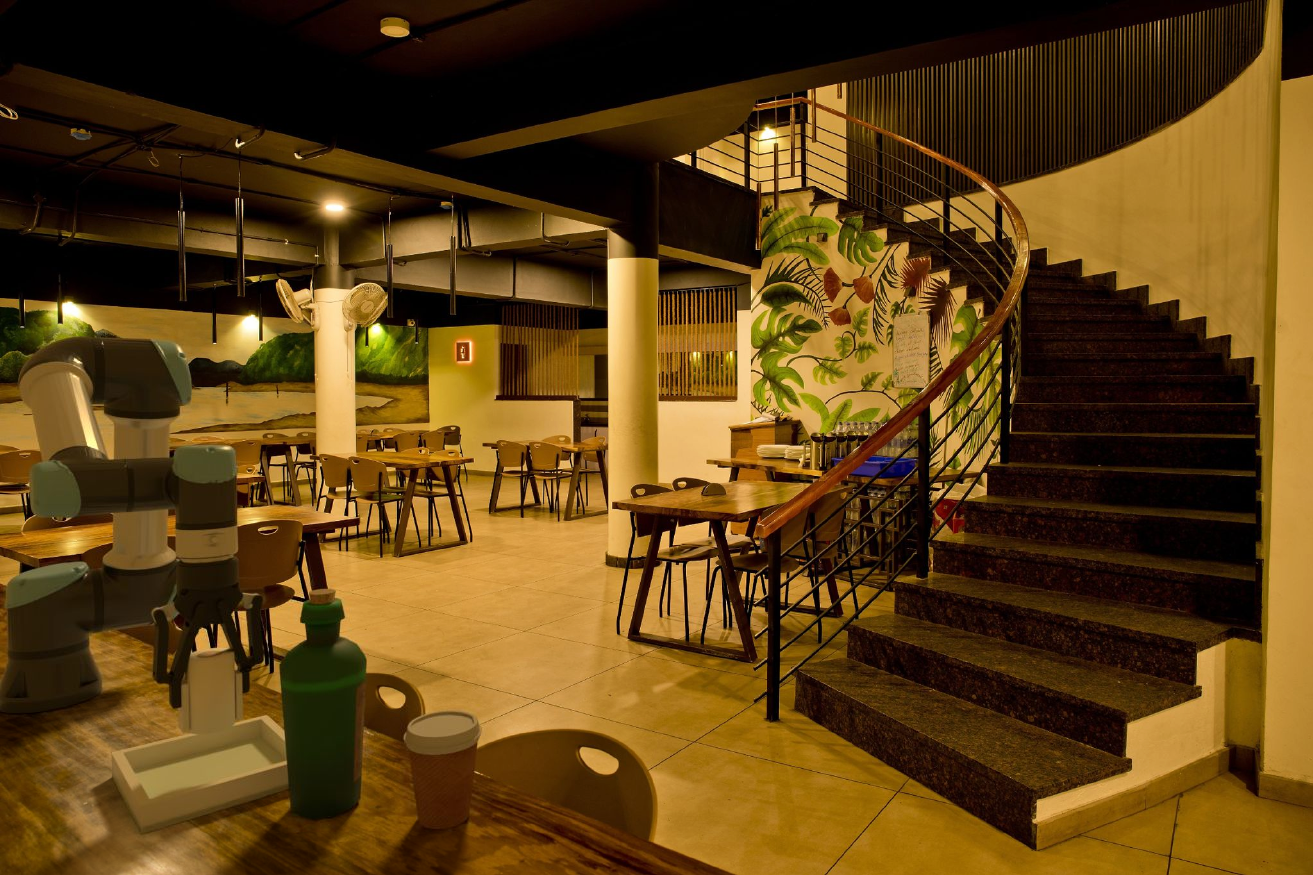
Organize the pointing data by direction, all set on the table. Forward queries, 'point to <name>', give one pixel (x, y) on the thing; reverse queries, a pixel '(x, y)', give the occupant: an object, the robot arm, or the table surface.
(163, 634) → the robot arm
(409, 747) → the disposable coffee cup
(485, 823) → the table surface
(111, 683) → the table surface
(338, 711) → the bottle
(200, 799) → the rectangular tray
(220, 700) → the kitchen roll
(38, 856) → the table surface
